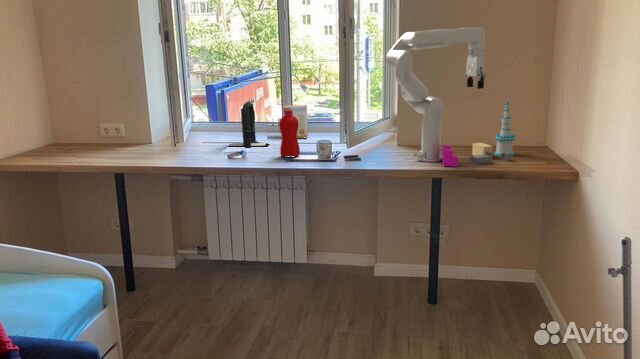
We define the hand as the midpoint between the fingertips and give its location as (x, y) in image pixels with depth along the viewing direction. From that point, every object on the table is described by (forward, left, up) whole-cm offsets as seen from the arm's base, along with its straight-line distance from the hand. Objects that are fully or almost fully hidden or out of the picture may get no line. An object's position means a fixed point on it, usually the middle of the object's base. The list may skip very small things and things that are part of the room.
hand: (475, 87), depth 272 cm
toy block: (-21, -13, -35) cm, 42 cm away
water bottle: (-90, +36, -35) cm, 103 cm away
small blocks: (-1, -17, -35) cm, 39 cm away
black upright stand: (-106, +72, -35) cm, 133 cm away
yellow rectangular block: (+3, -5, -35) cm, 35 cm away
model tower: (+15, -6, -35) cm, 39 cm away
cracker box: (-72, +86, -35) cm, 118 cm away
